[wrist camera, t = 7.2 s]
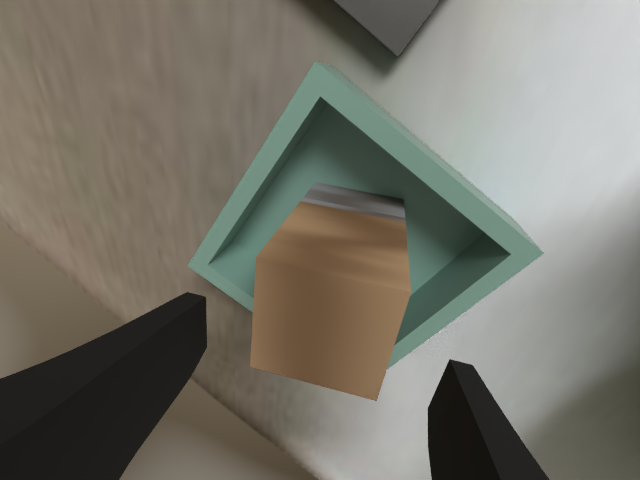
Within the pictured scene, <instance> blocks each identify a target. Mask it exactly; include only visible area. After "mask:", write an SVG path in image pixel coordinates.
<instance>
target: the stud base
mask: <svg viewBox="0 0 640 480" xmlns="http://www.w3.org/2000/svg"><path fill="white" fill-rule="evenodd" d="M332 1H333V2H335V3H336V4H337V5H338V6H339V7H340V8H341V9H343V10H344V11H345V12H346V13H347V14H348V15H349V16H351V17H352V18H353V19H354V20H355V21H356V22H357V23H359V24H360V25H361V26H362V27H363V28H364V29H365V30H367V31H368V32H369V33H370V34H371V35H372V36H373V37H375V38H376V39H377V40H378V41H379V42H380V43H382V44H383V45H384V46H385V47H386V48H387V49H388V50H390V51H391V52H392V53H393V54H394V55H395V56H396V57H399V55H400V54H401V53H402V51H403V50H404V49H405V47H406V46H407V45H408V43H409V42H410V41H411V39H412V38H413V37H414V35H415V34H416V32H417V31H418V30H419V28H420V27H421V26H422V24H423V23H424V22H425V20H426V19H427V18H428V16H429V15H430V14H431V12H432V11H433V10H434V8H435V7H436V6H437V4H438V3H439V2H440V0H332Z"/></svg>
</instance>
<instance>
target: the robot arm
mask: <svg viewBox="0 0 640 480" xmlns="http://www.w3.org/2000/svg"><path fill="white" fill-rule="evenodd" d="M206 348H207V326H206V297H204V296H200V295H196V294H192V293H189V292H187V293H185V294H183V295H181V296H179V297H177V298H175V299H173V300H171V301H169V302H167V303H165V304H163V305H161V306H159V307H158V308H156V309H154V310H152V311H150V312H148V313H146V314H144V315H142V316H140V317H139V318H137V319H135V320H133V321H131V322H129V323H127V324H125V325H123V326H121V327H119V328H117V329H115V330H113V331H111V332H109V333H107V334H105V335H103V336H101V337H99V338H97V339H94V340H92V341H90V342H88V343H86V344H84V345H81V346H79V347H77V348H75V349H73V350H71V351H68V352H66V353H64V354H62V355H59V356H57V357H55V358H52V359H50V360H48V361H45V362H43V363H40V364H38V365H35V366H33V367H30V368H28V369H25V370H22V371H20V372H17V373H15V374H12V375H10V376H7V377H4V378H1V379H0V480H119V479H120V477H121V475H122V474H123V472H124V471H125V469H126V467H127V466H128V464H129V463H130V461H131V460H132V458H133V457H134V455H135V454H136V452H137V451H138V449H139V448H140V447H141V445H142V444H143V443H144V441H145V440H146V438H147V437H148V436H149V434H150V433H151V432H152V430H153V429H154V427H155V426H156V425H157V423H158V422H159V420H160V419H161V418H162V416H163V415H164V413H165V412H166V411H167V409H168V408H169V407H170V405H171V404H172V402H173V401H174V400H175V398H176V397H177V396H178V394H179V393H180V391H181V390H182V388H183V387H184V386H185V384H186V383H187V381H188V379H190V377H191V375H192V373H193V372H194V370H195V368H196V366H197V365H198V363H199V361H200V359H201V357H202V355H203V354H204V352H205V350H206ZM428 449H429V459H430V467H431V476H432V480H549V478H548V477H547V476H546V474H545V473H544V472H543V470H542V469H541V467H540V466H539V465H538V463H537V462H536V460H535V459H534V458H533V456H532V455H531V453H530V452H529V451H528V449H527V448H526V446H525V445H524V443H523V442H522V440H521V439H520V437H519V436H518V434H517V433H516V431H515V430H514V429H513V427H512V426H511V424H510V423H509V421H508V419H507V418H506V416H505V415H504V413H503V412H502V410H501V409H500V407H499V406H498V404H497V403H496V401H495V399H494V398H493V396H492V395H491V393H490V392H489V390H488V388H487V387H486V385H485V384H484V382H483V381H482V379H481V377H480V376H479V374H478V373H477V371H476V370H475V368H474V367H473V365H470V364H466V363H462V362H458V361H454V360H449V362H448V364H447V367H446V369H445V371H444V373H443V376H442V378H441V380H440V382H439V385H438V387H437V389H436V391H435V394H434V396H433V398H432V400H431V403H430V405H429V407H428Z"/></svg>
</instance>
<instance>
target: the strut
mask: <svg viewBox="0 0 640 480" xmlns="http://www.w3.org/2000/svg"><path fill="white" fill-rule="evenodd" d="M410 295H411V283H410V270H409V258H408V245H407V232H406V220H405V207H404V199H400V198H395V197H390V196H385V195H380V194H375V193H370V192H364V191H359V190H354V189H349V188H344V187H339V186H334V185H329V184H323V183H318V182H315V183H314V184H313V186H312V187H311V188H310V190H309V191H308V192H307V193H306V195H305V196H304V197H303V198H302V200H301V201H300V202H299V203H298V205H297V206H296V207H295V208H294V210H293V211H292V212H291V213H290V215H289V216H288V217H287V219H286V220H285V221H284V222H283V224H282V225H281V226H280V227H279V229H278V230H277V231H276V232H275V234H274V235H273V236H272V237H271V239H270V240H269V241H268V242H267V244H266V245H265V246H264V248H263V249H262V250H261V251H260V253H259V254H258V255H257V256H256V266H255V284H254V302H253V320H252V338H251V356H250V367H253V368H257V369H260V370H264V371H268V372H271V373H275V374H279V375H283V376H286V377H290V378H294V379H297V380H301V381H305V382H308V383H312V384H316V385H320V386H323V387H327V388H331V389H334V390H338V391H342V392H346V393H349V394H353V395H357V396H360V397H364V398H368V399H371V400H375V401H377V398H378V395H379V391H380V388H381V385H382V382H383V379H384V376H385V373H386V370H387V366H388V363H389V360H390V357H391V354H392V351H393V348H394V345H395V341H396V338H397V335H398V332H399V329H400V326H401V323H402V320H403V316H404V313H405V310H406V307H407V304H408V301H409V298H410Z"/></svg>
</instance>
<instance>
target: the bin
mask: <svg viewBox="0 0 640 480" xmlns="http://www.w3.org/2000/svg"><path fill="white" fill-rule="evenodd" d="M315 182H318V183H323V184H329V185H334V186H339V187H344V188H349V189H354V190H359V191H364V192H370V193H375V194H380V195H385V196H390V197H395V198H400V199H404V207H405V220H406V232H407V245H408V258H409V270H410V283H411V295H410V298H409V301H408V304H407V307H406V310H405V313H404V316H403V320H402V323H401V326H400V329H399V332H398V335H397V338H396V341H395V345H394V348H393V351H392V354H391V357H390V360H389V363H388V366H387V369H388V368H389V367H391V366H392V365H394V364H395V363H396V362H398V361H399V360H400V359H402V358H403V357H404V356H406V355H407V354H408V353H410V352H411V351H412V350H414V349H415V348H417V347H418V346H419V345H421V344H422V343H423V342H425V341H426V340H427V339H429V338H430V337H431V336H433V335H434V334H435V333H437V332H438V331H440V330H441V329H442V328H444V327H445V326H446V325H448V324H449V323H450V322H452V321H453V320H454V319H456V318H457V317H458V316H460V315H461V314H462V313H464V312H465V311H467V310H468V309H469V308H471V307H472V306H473V305H475V304H476V303H477V302H479V301H480V300H481V299H483V298H484V297H485V296H487V295H488V294H490V293H491V292H492V291H494V290H495V289H496V288H498V287H499V286H500V285H502V284H503V283H504V282H506V281H507V280H508V279H510V278H511V277H513V276H514V275H515V274H517V273H518V272H519V271H521V270H522V269H523V268H525V267H526V266H527V265H529V264H530V263H531V262H533V261H534V260H535V259H537V258H538V257H540V256H541V255H542V254H544V253H543V252H542V251H541V250H540V249H539V247H538V246H537V245H536V244H535V243H534V242H533V240H532V239H531V238H530V237H529V236H528V235H527V234H526V232H525V231H524V230H523V229H522V228H521V227H520V226H519V224H518V223H517V222H516V221H515V220H514V219H513V218H512V217H510V216H509V215H508V214H507V213H506V212H505V211H503V210H502V209H501V208H500V207H499V206H497V205H496V204H495V203H494V202H493V201H492V200H490V199H489V198H488V197H487V196H486V195H484V194H483V193H482V192H481V191H480V190H479V189H477V188H476V187H475V186H474V185H473V184H471V183H470V182H469V181H468V180H467V179H466V178H464V177H463V176H462V175H461V174H460V173H458V172H457V171H456V170H455V169H454V168H453V167H451V166H450V165H449V164H448V163H447V162H445V161H444V160H443V159H442V158H441V157H440V156H438V155H437V154H436V153H435V152H434V151H432V150H431V149H430V148H429V147H428V146H426V145H425V144H424V143H423V142H422V141H421V140H419V139H418V138H417V137H416V136H415V135H413V134H412V133H411V132H410V131H409V130H408V129H406V128H405V127H404V126H403V125H402V124H400V123H399V122H398V121H397V120H396V119H395V118H393V117H392V116H391V115H390V114H389V113H387V112H386V111H385V110H384V109H383V108H382V107H380V106H379V105H378V104H377V103H376V102H374V101H373V100H372V99H371V98H370V97H369V96H367V95H366V94H365V93H364V92H363V91H361V90H360V89H359V88H358V87H357V86H356V85H354V84H353V83H352V82H351V81H350V80H348V79H347V78H346V77H345V76H344V75H343V74H341V73H340V72H339V71H338V70H337V69H335V68H334V67H333V66H331V65H327V64H324V63H320V62H316V61H315V63H314V65H313V66H312V68H311V69H310V71H309V73H308V74H307V76H306V77H305V79H304V81H303V82H302V84H301V85H300V87H299V89H298V90H297V92H296V93H295V95H294V97H293V98H292V100H291V101H290V103H289V105H288V106H287V108H286V109H285V111H284V113H283V114H282V116H281V117H280V119H279V121H278V122H277V124H276V125H275V127H274V129H273V130H272V132H271V133H270V135H269V137H268V138H267V140H266V141H265V143H264V145H263V146H262V148H261V149H260V151H259V153H258V154H257V156H256V157H255V159H254V161H253V162H252V164H251V165H250V167H249V169H248V170H247V172H246V173H245V175H244V176H243V178H242V180H241V181H240V183H239V184H238V186H237V188H236V189H235V191H234V192H233V194H232V196H231V197H230V199H229V200H228V202H227V204H226V205H225V207H224V208H223V210H222V212H221V213H220V215H219V216H218V218H217V220H216V221H215V223H214V224H213V226H212V228H211V229H210V231H209V232H208V234H207V236H206V237H205V239H204V240H203V242H202V244H201V245H200V247H199V248H198V250H197V252H196V253H195V255H194V256H193V258H192V260H191V261H190V263H189V264H188V267H190V268H191V269H192V270H194V271H195V272H197V273H198V274H199V275H201V276H202V277H204V278H205V279H206V280H208V281H209V282H211V283H212V284H213V285H215V286H216V287H218V288H219V289H220V290H222V291H223V292H225V293H226V294H227V295H229V296H230V297H232V298H233V299H234V300H236V301H237V302H239V303H240V304H241V305H243V306H244V307H246V308H247V309H248V310H250V311H251V312H253V302H254V284H255V266H256V256H257V255H258V254H259V253H260V251H261V250H262V249H263V248H264V246H265V245H266V244H267V242H268V241H269V240H270V239H271V237H272V236H273V235H274V234H275V232H276V231H277V230H278V229H279V227H280V226H281V225H282V224H283V222H284V221H285V220H286V219H287V217H288V216H289V215H290V213H291V212H292V211H293V210H294V208H295V207H296V206H297V205H298V203H299V202H300V201H301V200H302V198H303V197H304V196H305V195H306V193H307V192H308V191H309V190H310V188H311V187H312V186H313V184H314V183H315Z"/></svg>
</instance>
